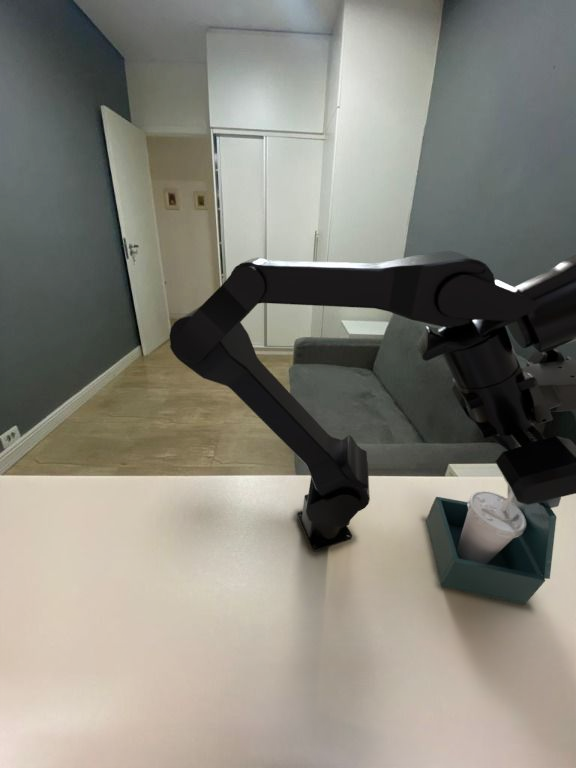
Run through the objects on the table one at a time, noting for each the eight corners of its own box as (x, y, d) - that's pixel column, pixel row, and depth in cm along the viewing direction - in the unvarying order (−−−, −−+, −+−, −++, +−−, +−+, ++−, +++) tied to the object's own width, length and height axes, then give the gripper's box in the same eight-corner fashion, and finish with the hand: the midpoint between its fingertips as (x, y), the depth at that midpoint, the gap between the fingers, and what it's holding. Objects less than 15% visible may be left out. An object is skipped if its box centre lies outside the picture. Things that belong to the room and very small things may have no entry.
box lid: (549, 516, 32) (556, 516, 32) (507, 451, 41) (512, 451, 40) (544, 579, 36) (550, 579, 36) (507, 508, 45) (511, 507, 45)
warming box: (440, 586, 40) (454, 561, 38) (425, 520, 49) (435, 496, 46) (525, 605, 39) (545, 580, 36) (493, 533, 48) (508, 509, 45)
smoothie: (504, 583, 41) (555, 513, 34) (453, 572, 42) (492, 502, 35) (487, 539, 46) (528, 472, 39) (442, 530, 47) (474, 462, 40)
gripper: (672, 381, 20) (698, 528, 25) (527, 305, 36) (561, 405, 41) (489, 440, 24) (543, 555, 30) (432, 349, 41) (473, 434, 46)
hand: (529, 474), depth 36 cm, fingers open, 9 cm apart
